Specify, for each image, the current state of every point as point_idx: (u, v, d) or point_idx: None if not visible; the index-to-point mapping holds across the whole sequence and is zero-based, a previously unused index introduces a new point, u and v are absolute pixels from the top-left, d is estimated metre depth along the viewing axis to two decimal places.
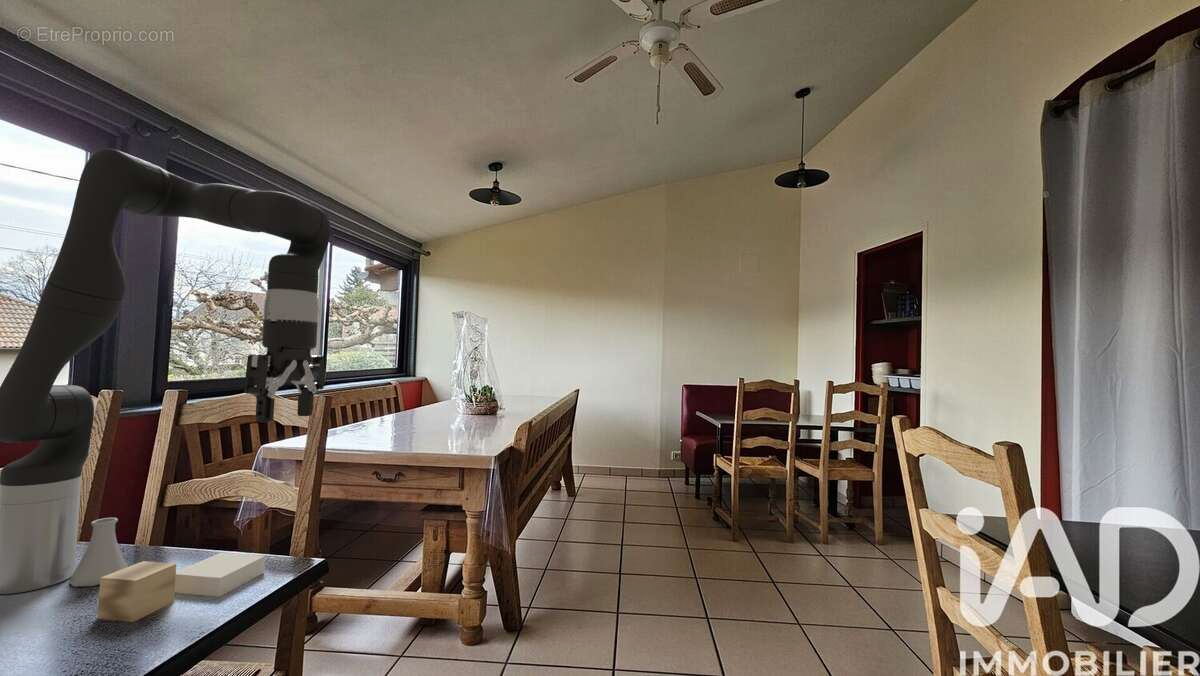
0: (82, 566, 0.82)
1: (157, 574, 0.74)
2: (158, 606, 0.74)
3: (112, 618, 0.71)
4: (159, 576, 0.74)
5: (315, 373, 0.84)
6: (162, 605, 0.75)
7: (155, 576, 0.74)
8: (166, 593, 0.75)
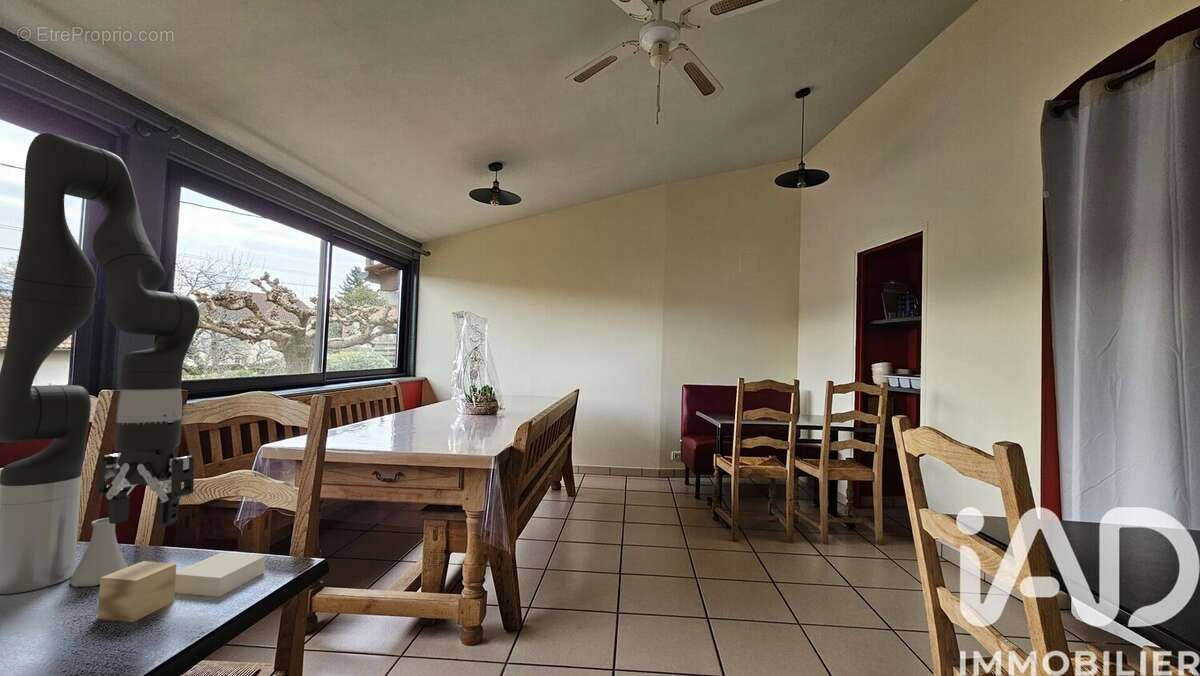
0: (82, 566, 0.82)
1: (157, 574, 0.74)
2: (158, 606, 0.74)
3: (112, 618, 0.71)
4: (159, 576, 0.74)
5: (116, 474, 0.76)
6: (162, 605, 0.75)
7: (155, 576, 0.74)
8: (166, 593, 0.75)
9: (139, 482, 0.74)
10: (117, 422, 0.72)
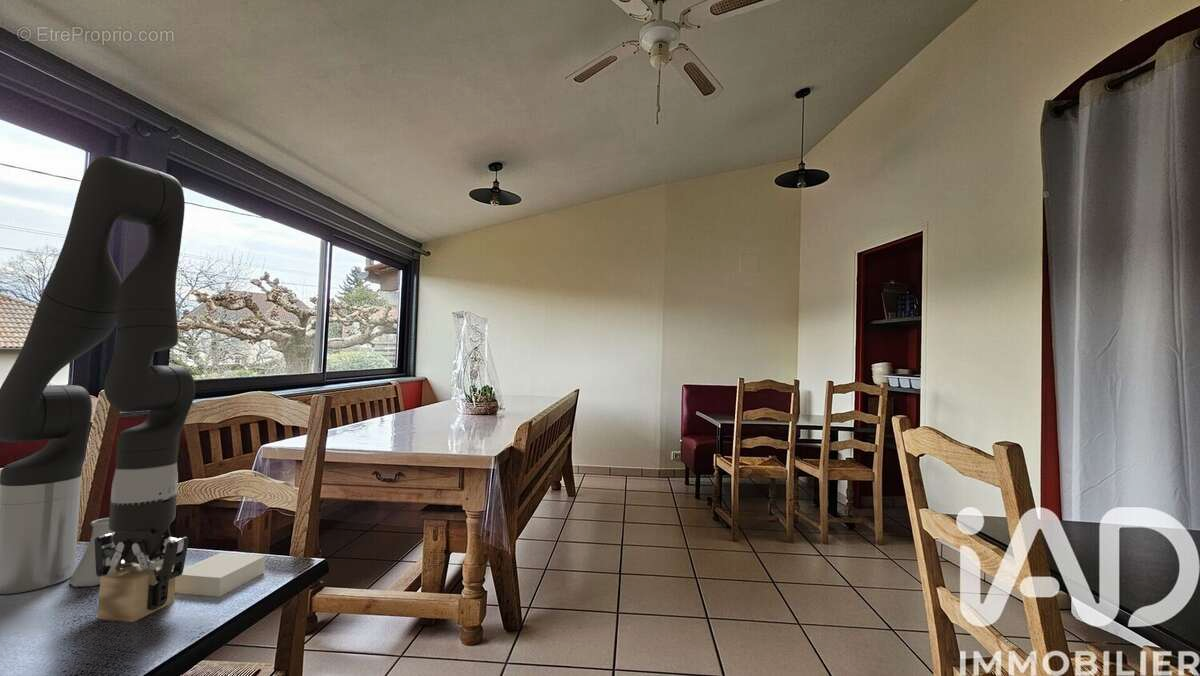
0: (82, 566, 0.82)
1: None
2: None
3: (112, 617, 0.71)
4: None
5: (114, 553, 0.75)
6: None
7: None
8: None
9: (134, 560, 0.73)
10: (112, 502, 0.71)
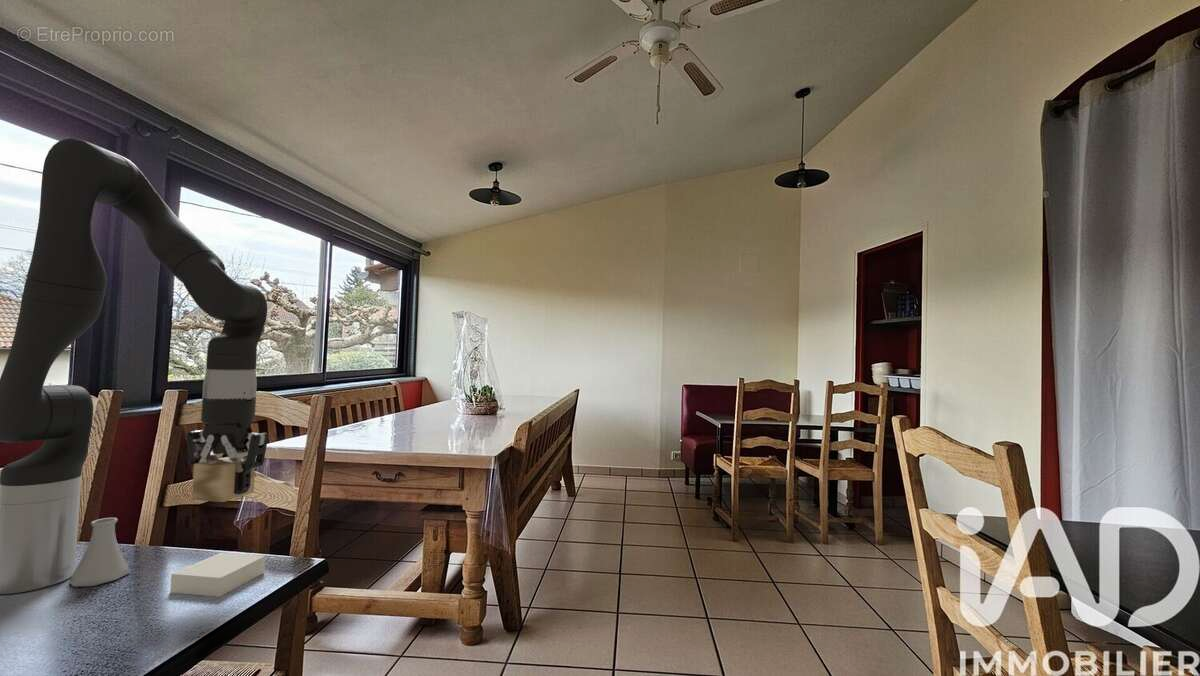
0: (82, 566, 0.82)
1: None
2: None
3: (205, 498, 0.81)
4: None
5: (202, 447, 0.85)
6: None
7: None
8: None
9: (222, 451, 0.83)
10: (204, 398, 0.81)
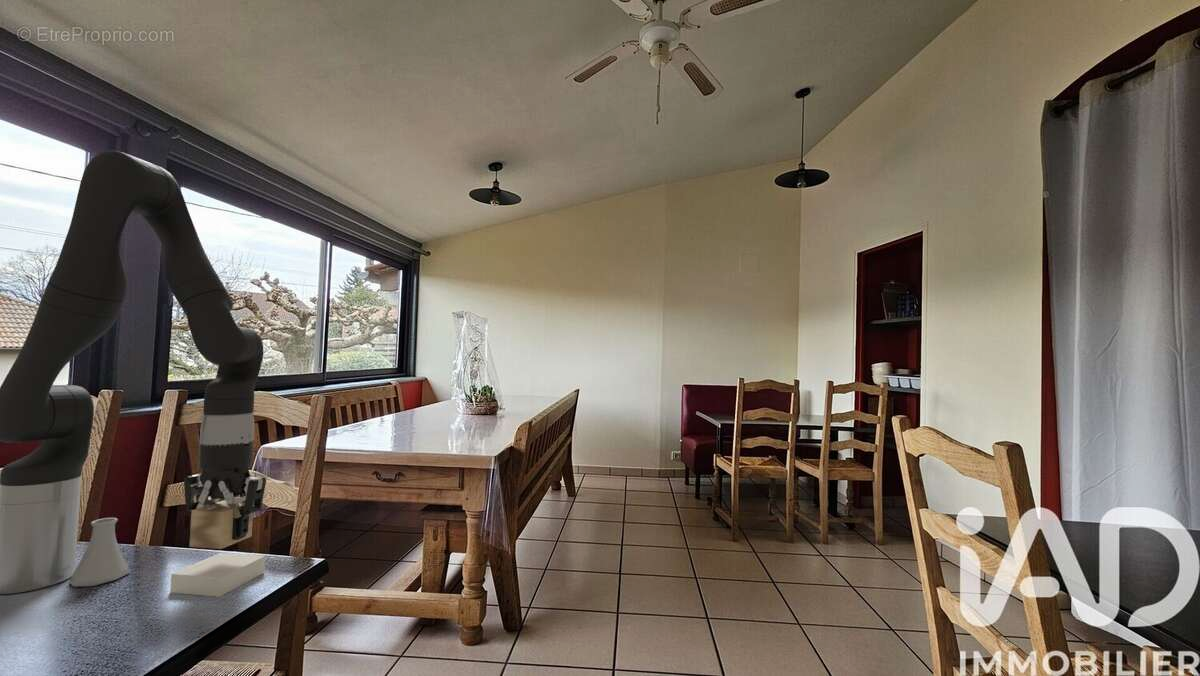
0: (82, 566, 0.82)
1: None
2: None
3: (202, 545, 0.81)
4: None
5: (200, 492, 0.85)
6: None
7: None
8: None
9: (219, 497, 0.83)
10: (202, 444, 0.81)
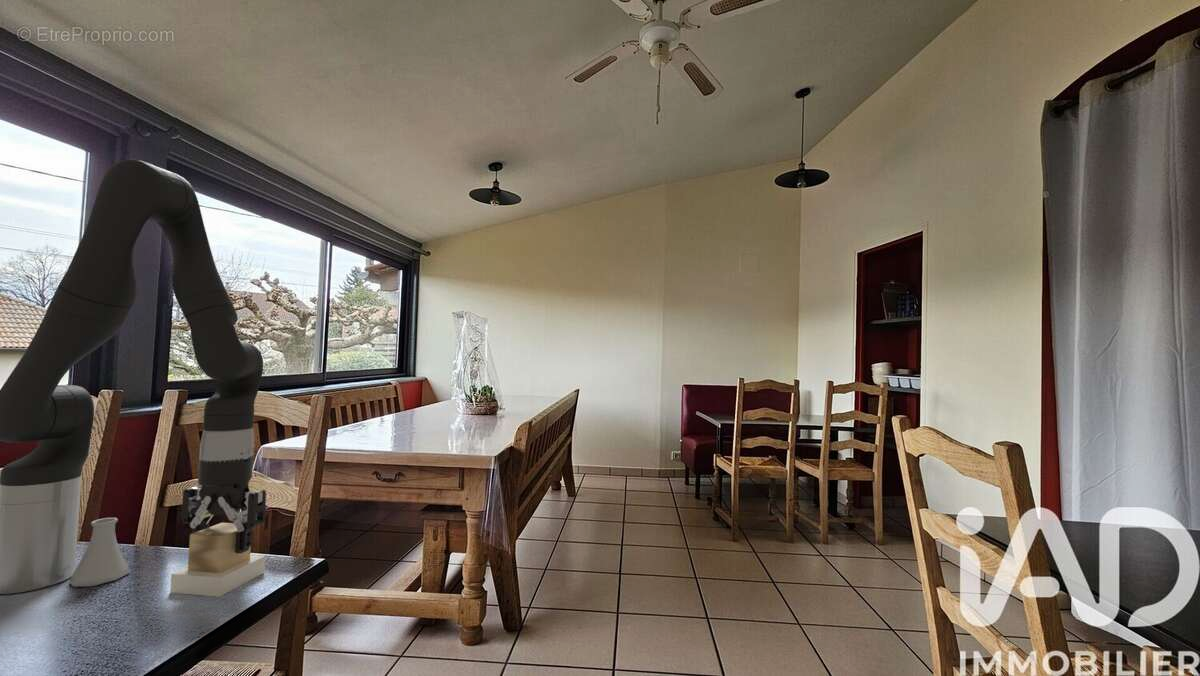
0: (82, 566, 0.82)
1: None
2: (238, 560, 0.84)
3: (201, 569, 0.80)
4: None
5: (197, 504, 0.85)
6: (241, 560, 0.84)
7: None
8: None
9: (219, 512, 0.83)
10: (201, 460, 0.81)
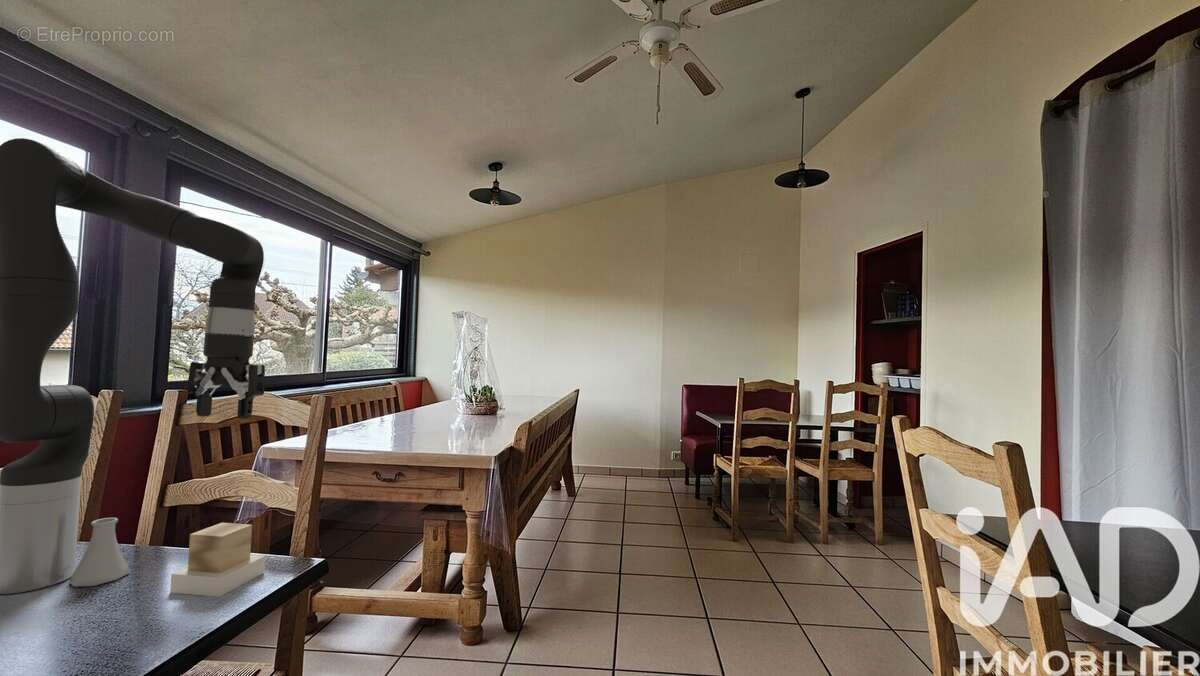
0: (82, 566, 0.82)
1: (237, 532, 0.83)
2: (238, 560, 0.84)
3: (201, 569, 0.80)
4: (239, 534, 0.84)
5: (202, 377, 0.94)
6: (241, 560, 0.84)
7: (236, 534, 0.83)
8: (244, 550, 0.85)
9: (222, 383, 0.91)
10: (207, 333, 0.90)
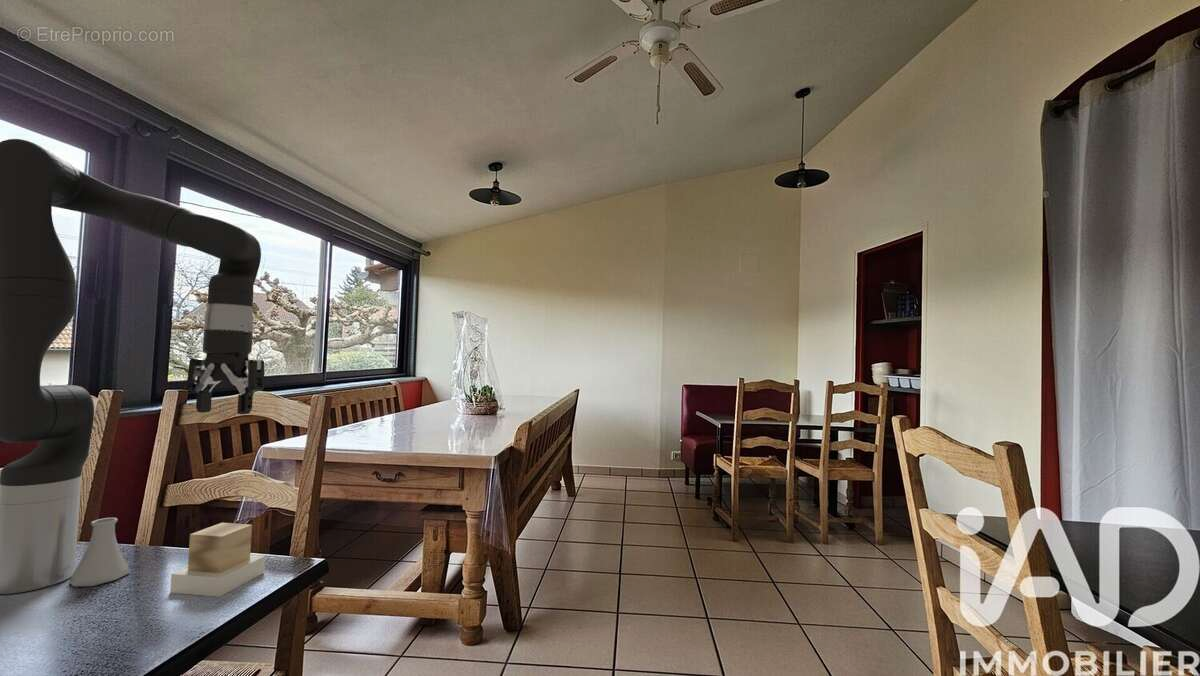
0: (82, 566, 0.82)
1: (237, 532, 0.83)
2: (238, 560, 0.84)
3: (201, 569, 0.80)
4: (239, 534, 0.84)
5: (201, 374, 0.94)
6: (241, 560, 0.84)
7: (236, 534, 0.83)
8: (244, 550, 0.85)
9: (221, 379, 0.92)
10: (206, 329, 0.90)
